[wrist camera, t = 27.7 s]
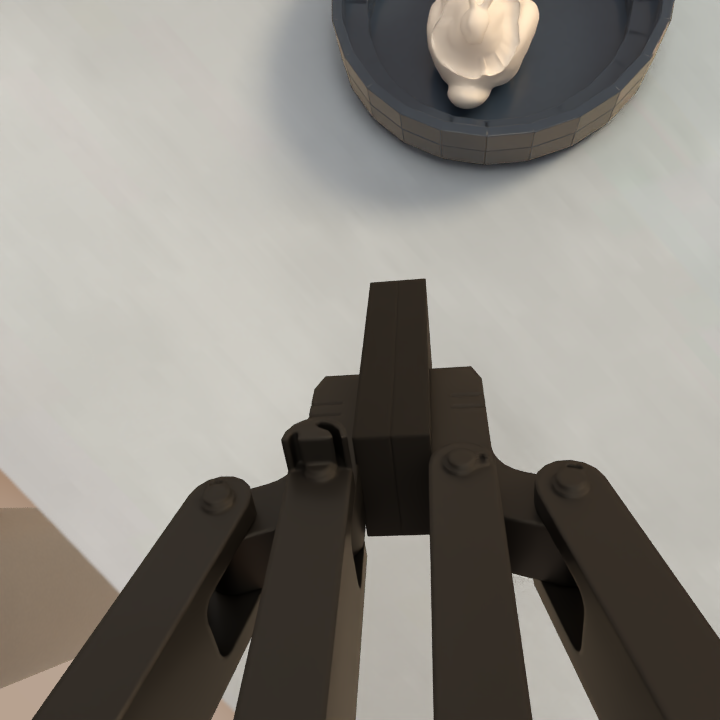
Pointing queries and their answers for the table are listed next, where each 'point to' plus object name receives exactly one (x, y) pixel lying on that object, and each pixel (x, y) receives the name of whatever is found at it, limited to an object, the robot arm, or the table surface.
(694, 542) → the table surface
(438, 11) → the rabbit figurine
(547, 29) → the bowl
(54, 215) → the table surface
